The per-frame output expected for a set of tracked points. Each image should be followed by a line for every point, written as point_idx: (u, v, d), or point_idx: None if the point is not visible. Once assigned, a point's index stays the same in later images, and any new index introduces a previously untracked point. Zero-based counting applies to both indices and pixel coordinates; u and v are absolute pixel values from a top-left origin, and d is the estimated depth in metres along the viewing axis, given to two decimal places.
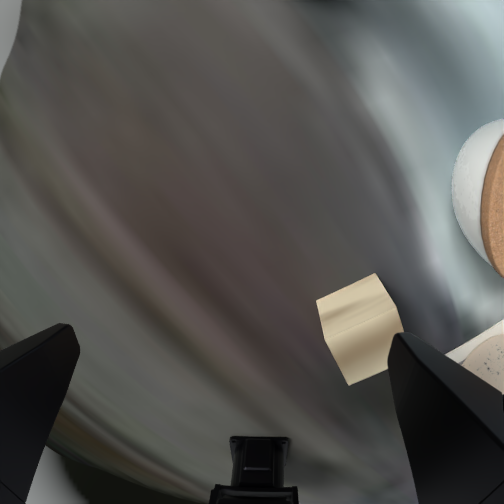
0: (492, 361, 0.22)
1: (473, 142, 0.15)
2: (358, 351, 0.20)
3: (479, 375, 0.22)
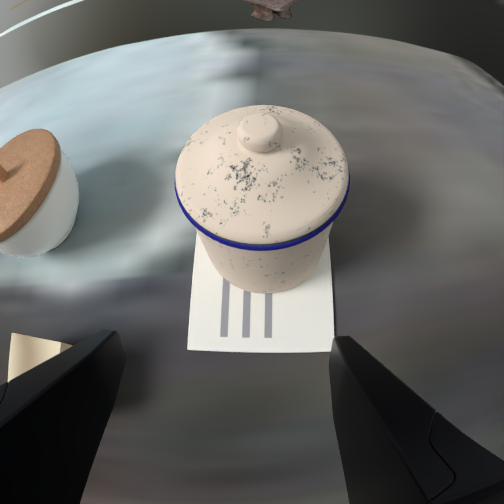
0: None
1: None
2: None
3: (208, 254, 0.20)
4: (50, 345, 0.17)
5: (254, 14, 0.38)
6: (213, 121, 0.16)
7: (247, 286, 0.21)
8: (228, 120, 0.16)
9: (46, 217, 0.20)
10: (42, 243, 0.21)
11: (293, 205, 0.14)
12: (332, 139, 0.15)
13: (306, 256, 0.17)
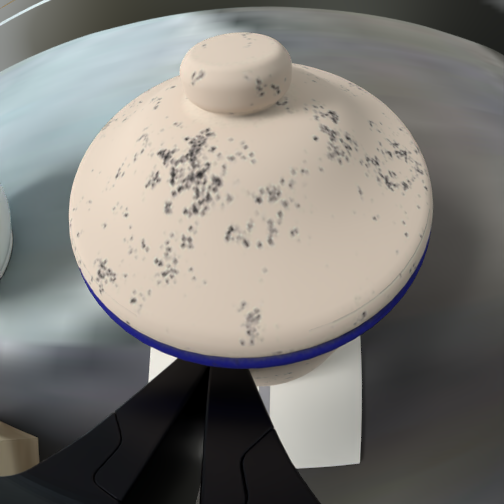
0: None
1: None
2: None
3: None
4: None
5: None
6: (158, 86, 0.08)
7: None
8: None
9: None
10: None
11: (325, 255, 0.05)
12: (389, 112, 0.07)
13: None
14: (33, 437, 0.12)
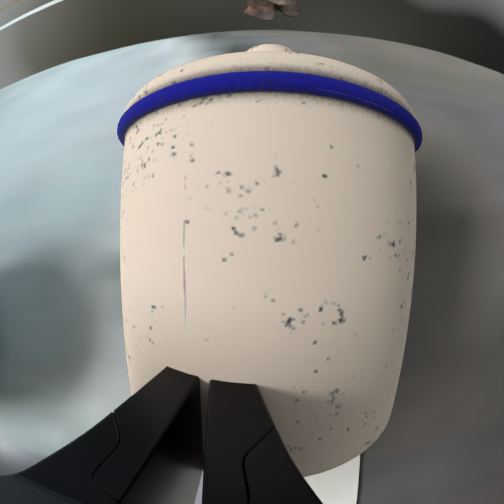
0: None
1: None
2: None
3: (128, 334, 0.07)
4: None
5: (248, 10, 0.27)
6: None
7: None
8: None
9: None
10: None
11: None
12: None
13: (393, 255, 0.06)
14: None
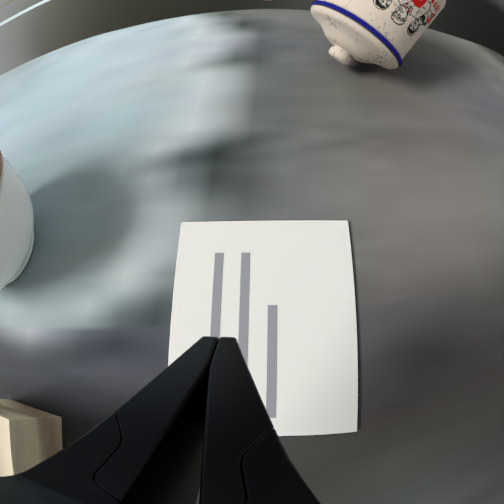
0: None
1: None
2: None
3: None
4: None
5: None
6: (314, 16, 0.21)
7: None
8: (320, 23, 0.21)
9: None
10: None
11: (378, 64, 0.22)
12: (372, 45, 0.18)
13: None
14: (57, 416, 0.15)
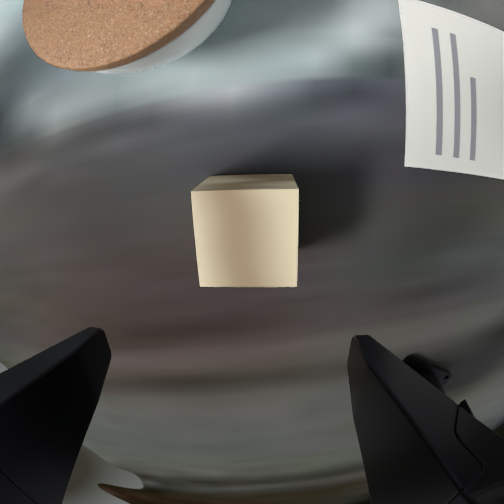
0: None
1: None
2: (239, 257, 0.16)
3: None
4: (280, 196, 0.14)
5: None
6: None
7: None
8: None
9: (219, 6, 0.11)
10: (197, 44, 0.13)
11: None
12: None
13: None
14: (290, 174, 0.19)
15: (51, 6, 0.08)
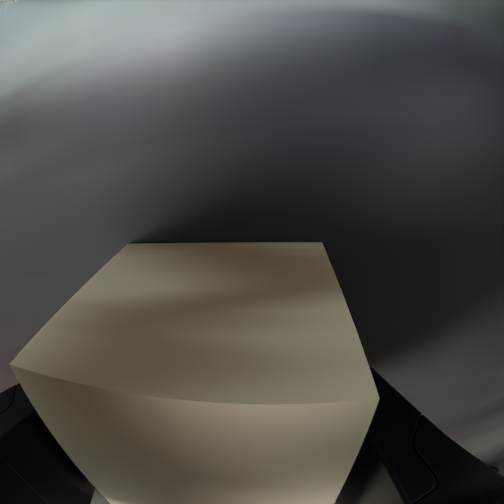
0: None
1: None
2: (181, 501, 0.04)
3: None
4: (304, 421, 0.03)
5: None
6: None
7: None
8: None
9: None
10: None
11: None
12: None
13: None
14: (318, 247, 0.07)
15: None
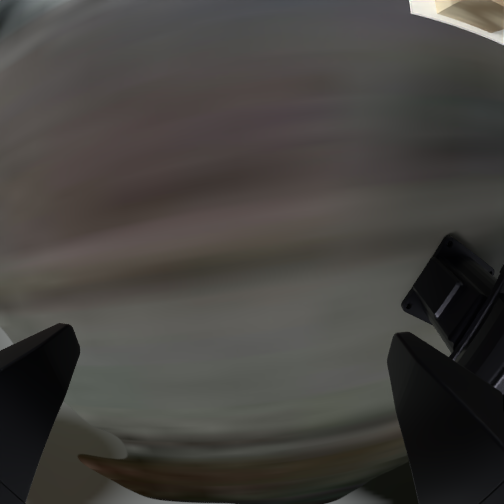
0: None
1: None
2: None
3: None
4: None
5: None
6: None
7: None
8: None
9: None
10: None
11: None
12: None
13: None
14: None
15: None
